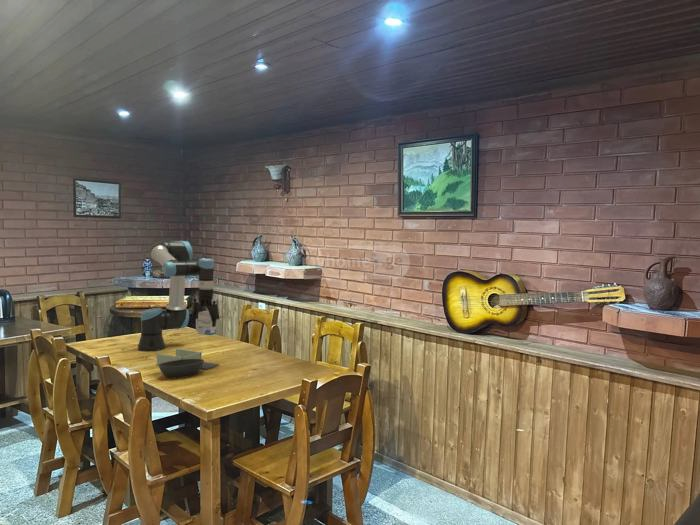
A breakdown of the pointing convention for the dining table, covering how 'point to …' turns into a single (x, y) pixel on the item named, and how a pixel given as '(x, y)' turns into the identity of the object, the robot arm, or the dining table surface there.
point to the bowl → (181, 367)
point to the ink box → (204, 323)
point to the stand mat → (208, 365)
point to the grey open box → (178, 356)
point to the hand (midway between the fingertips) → (205, 331)
